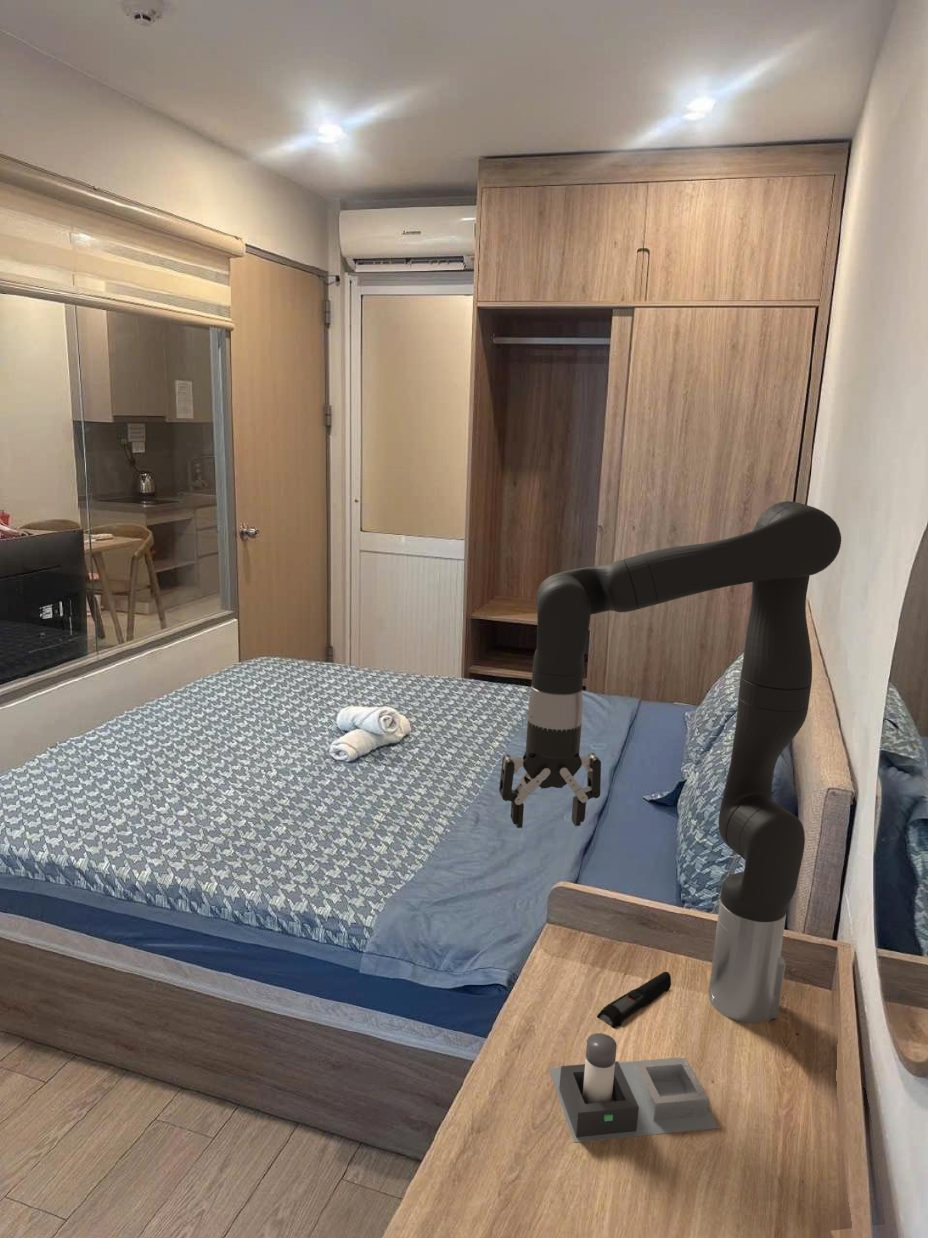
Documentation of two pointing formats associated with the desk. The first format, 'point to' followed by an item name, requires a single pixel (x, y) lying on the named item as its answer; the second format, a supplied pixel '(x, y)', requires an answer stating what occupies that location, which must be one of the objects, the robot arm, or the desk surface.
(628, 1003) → the electric trimmer
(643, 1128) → the panel
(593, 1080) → the plug
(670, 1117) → the square frame
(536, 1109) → the desk surface
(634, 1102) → the port
